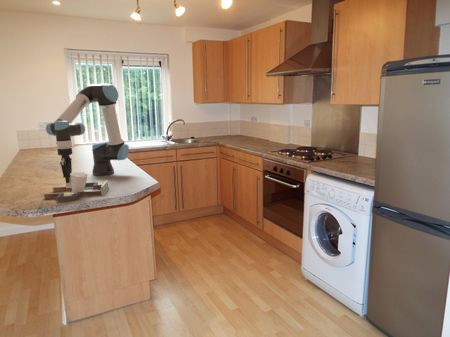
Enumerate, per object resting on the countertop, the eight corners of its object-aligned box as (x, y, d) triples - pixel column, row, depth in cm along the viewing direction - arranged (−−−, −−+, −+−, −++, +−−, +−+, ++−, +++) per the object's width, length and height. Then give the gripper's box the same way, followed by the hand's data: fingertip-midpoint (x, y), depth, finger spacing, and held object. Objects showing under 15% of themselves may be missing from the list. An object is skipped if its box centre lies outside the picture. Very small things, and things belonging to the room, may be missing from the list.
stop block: (106, 188, 205) (106, 180, 203) (108, 188, 205) (108, 180, 204) (101, 195, 190) (100, 186, 189) (103, 195, 190) (102, 186, 189)
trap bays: (72, 187, 208) (72, 183, 208) (98, 185, 211) (97, 182, 210) (56, 201, 180) (56, 197, 179) (86, 199, 182) (85, 195, 181)
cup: (64, 191, 193) (66, 173, 191) (80, 188, 202) (81, 171, 199) (75, 195, 188) (76, 177, 186) (90, 193, 197) (91, 175, 195)
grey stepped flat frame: (54, 191, 200) (53, 187, 200) (106, 188, 205) (106, 184, 204) (44, 198, 185) (43, 194, 185) (101, 195, 190) (101, 191, 189)
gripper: (61, 146, 194) (66, 185, 199) (53, 149, 182) (58, 191, 187) (74, 146, 195) (79, 184, 200) (67, 149, 183) (72, 190, 188)
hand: (69, 187), depth 193 cm, fingers closed
